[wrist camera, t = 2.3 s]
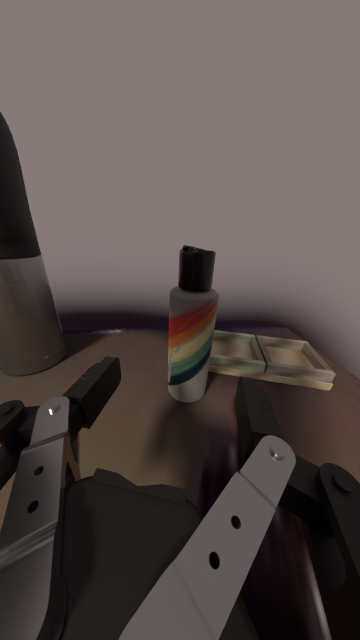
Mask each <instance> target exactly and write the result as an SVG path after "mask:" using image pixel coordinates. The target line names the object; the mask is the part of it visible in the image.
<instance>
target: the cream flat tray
mask: <svg viewBox="0 0 360 640" xmlns="http://www.w3.org/2000/svg"><path fill="white" fill-rule="evenodd" d="M208 372H214V373H221V374H227V375H233V376H244V377H251V378H253V379H259V380H266V381H272V382H279V383H285V384H291V385H298V386H304V387H311V388H317V389H324V390H330V389H331V387H332V386H333V384H332V383H331V382H332V380H333V378H334V377H335V375H336V374H335V373H334V372H333V371H332V370H331V369H330V367H329V366H328V365H327V364H326V363H325V362H324V361H323V359H322V358H321V357H320V356H319V355H318V354H317V352H316V351H315V350H314V349H313V348H312V347H311V346H310V344H309V343H308V342H307V341H299V340H291V339H283V338H275V337H267V336H259V335H256V338H255V336H254V335H250V334H242V333H234V332H226V331H218V330H214V334H213V341H212V349H211V356H210V363H209V370H208Z"/></svg>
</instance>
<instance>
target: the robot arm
mask: <svg viewBox="0 0 360 640" xmlns="http://www.w3.org/2000/svg"><path fill="white" fill-rule="evenodd" d="M66 352H67V349H66V345H65V342H64V338H63V334H62V330H61V326H60V323H59V319H58V315H57V311H56V308H55V304H54V300H53V296H52V293H51V289H50V285H49V281H48V278H47V274H46V270H45V267H44V263H43V259H42V256H41V252H40V248H39V245H38V241H37V237H36V233H35V229H34V225H33V221H32V217H31V213H30V209H29V204H28V200H27V195H26V190H25V185H24V180H23V176H22V170H21V165H20V162H19V157H18V153H17V149H16V146H15V143H14V140H13V137H12V134H11V132H10V130H9V127H8V125H7V123H6V121H5V119H4V117H3V116H2V114H1V112H0V367H1V369H2V371H3V372H4V373H6V374H8V375H13V376H21V375H28V374H33V373H36V372H40V371H43V370H45V369H47V368H50V367H51V366H53V365H55V364H56V363H58V362H59V361H61V360H62V359H63V358H64V356H65V355H66ZM120 381H121V369H120V361H119V358H116V357H110V356H107V357H105V358H104V359H103V360H102V362H101V363H96V364H95V365H93V366H91V367H90V368H89V369H88V370H87V371H86V372H85V374H83V375H82V376H81V378H79V379H78V380H77V381H76V382H75V383H74V384H73V385H72V386H71V387H70V388H69V389H68V390H67V391H66V392H65V393H64V394H63V395H62V396H58V397H54V398H51V399H49V400H47V401H46V402H44V403H43V404H42V405H41V406H33V407H25V406H24V404H23V402H22V401H20V400H13V401H9V402H6V403H3V404H1V405H0V444H1V445H2V446H1V447H0V490H1V489H2V488H3V486H4V485H5V484H6V483H7V482H8V480H9V479H10V478H11V477H12V475H13V474H14V473H15V472H16V475H15V478H14V482H13V486H12V490H11V494H10V498H9V502H8V505H7V509H6V513H5V517H4V521H3V525H2V529H1V532H0V640H259V637H258V635H257V633H256V631H255V628H254V626H253V624H252V621H251V619H250V617H249V614H248V612H247V610H246V607H245V605H244V603H243V601H242V598H241V596H240V594H239V592H240V590H241V588H242V585H243V583H244V581H245V579H246V576H247V574H248V572H249V570H250V567H251V565H252V563H253V560H254V558H255V556H256V554H257V551H258V549H259V547H260V545H261V542H262V540H263V538H264V536H265V533H266V531H267V529H268V527H269V524H270V522H271V520H272V517H273V515H274V513H275V510H276V507H277V505H280V506H282V507H283V508H285V509H286V510H288V511H290V512H291V513H293V514H294V515H296V516H298V517H299V518H301V522H302V526H303V530H304V534H305V538H306V541H307V545H308V549H309V553H310V557H311V561H312V564H313V568H314V572H315V576H316V580H317V584H318V587H319V591H320V595H321V599H322V603H323V607H324V611H325V614H326V618H327V622H328V626H329V630H330V634H331V637H332V640H360V484H359V482H358V481H357V480H356V479H355V478H354V477H353V476H352V475H351V474H350V473H349V472H347V471H346V470H345V469H343V468H341V467H340V466H337V465H335V464H331V463H325V464H323V465H322V466H321V467H318V466H316V465H314V464H312V463H310V462H308V461H306V460H304V459H302V458H300V457H299V456H297V455H296V454H295V453H294V452H293V450H292V449H291V447H290V446H289V445H288V444H287V443H286V442H285V441H284V440H283V438H282V435H281V432H280V429H279V426H278V423H277V420H276V417H275V414H274V412H273V409H272V406H271V403H270V400H269V397H268V395H267V393H266V392H265V391H264V390H263V389H262V388H259V387H256V385H255V382H254V379H253V378H251V377H244V376H240V378H239V382H238V386H237V391H236V396H235V406H236V414H237V423H238V431H239V439H240V448H241V456H242V462H244V463H245V464H244V466H243V467H242V469H241V470H240V471H237V472H236V473H235V474H234V476H233V477H232V478H231V480H230V481H229V483H228V484H227V486H226V487H225V489H224V490H223V491H222V493H221V494H220V496H219V497H218V499H217V500H216V502H215V503H214V504H213V506H212V507H211V509H210V510H209V512H208V513H207V515H206V516H205V517H204V515H203V514H202V512H201V511H200V510H199V509H198V508H197V507H196V506H195V505H194V504H193V503H192V502H191V501H189V500H188V499H186V498H185V497H186V490H184V489H180V488H176V487H172V486H168V485H164V484H160V485H148V486H136V485H135V484H133V483H132V482H130V481H129V480H127V479H126V478H124V477H123V476H121V475H120V474H118V473H115V472H111V471H107V470H103V469H99V468H97V469H96V471H95V473H94V475H93V476H90V477H85V478H83V479H81V476H80V469H79V433H78V432H79V431H80V430H81V428H82V427H83V428H88V429H90V427H91V426H92V424H93V423H94V421H95V420H96V418H97V417H98V415H99V414H100V412H101V411H102V409H103V408H104V406H105V405H106V403H107V402H108V400H109V399H110V397H111V396H112V394H113V393H114V391H115V390H116V388H117V387H118V385H119V383H120ZM16 470H17V471H16Z"/></svg>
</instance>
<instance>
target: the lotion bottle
mask: <svg viewBox="0 0 360 640" xmlns="http://www.w3.org/2000/svg"><path fill="white" fill-rule="evenodd" d="M215 255H216V253H215V252H214V251H207V250H203V249H199V248H195V247H191V246H185V245H184V246H183V249H181V250H180V255H179V282H178V287H175V288H173V289H172V290H171V292H170V305H169V351H168V389H169V393H170V394H171V396H172V397H173V398H175V399H176V400H178V401H180V402H184V403H192V402H195V401H198V400H199V399H201V398H202V396H203V395H204V393H205V389H206V384H207V377H208V370H209V363H210V356H211V349H212V341H213V334H214V327H215V320H216V313H217V306H218V297H219V295H218V293H217V292H216V291H215V290H213V289H211V287H212V279H213V271H214V263H215Z"/></svg>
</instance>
